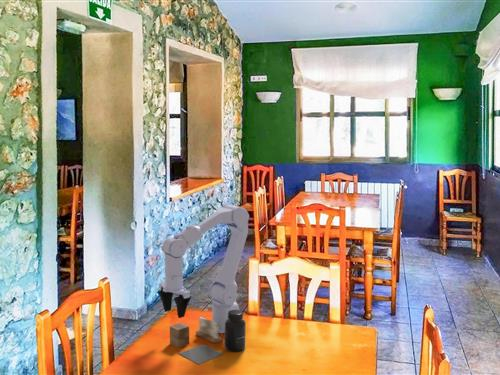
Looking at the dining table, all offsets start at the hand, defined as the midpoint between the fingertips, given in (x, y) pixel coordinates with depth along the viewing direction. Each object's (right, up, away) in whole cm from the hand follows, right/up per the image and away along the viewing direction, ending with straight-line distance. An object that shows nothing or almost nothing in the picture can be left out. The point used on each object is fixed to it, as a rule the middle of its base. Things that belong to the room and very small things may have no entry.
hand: (174, 313), depth 170 cm
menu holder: (+11, -9, +4) cm, 15 cm away
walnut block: (+2, -10, -1) cm, 10 cm away
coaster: (+10, -11, -9) cm, 17 cm away
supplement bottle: (+20, -10, -4) cm, 23 cm away
